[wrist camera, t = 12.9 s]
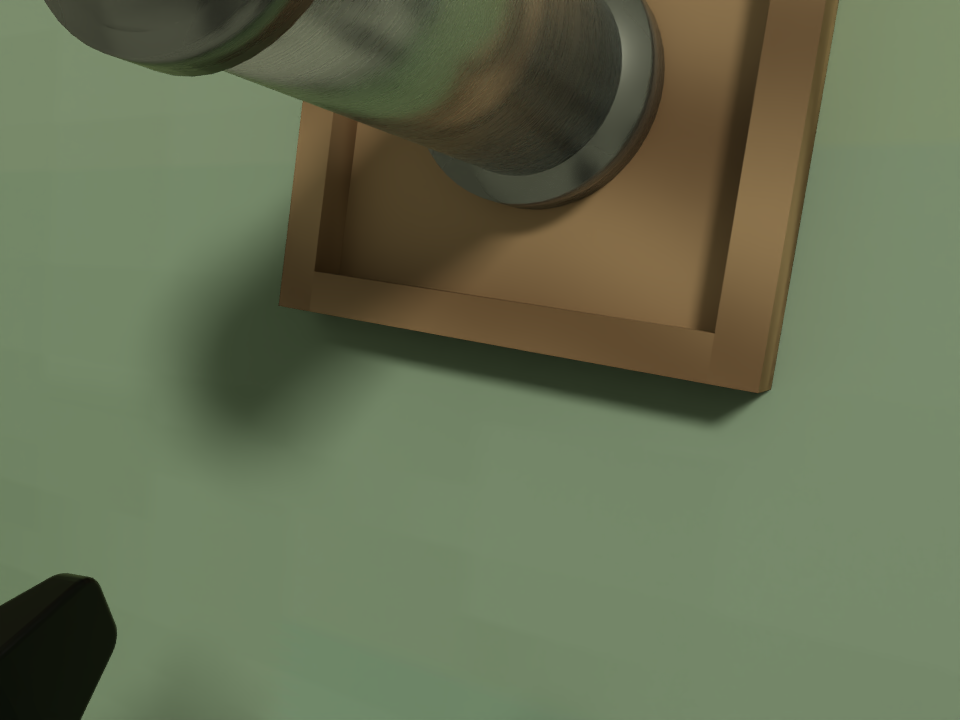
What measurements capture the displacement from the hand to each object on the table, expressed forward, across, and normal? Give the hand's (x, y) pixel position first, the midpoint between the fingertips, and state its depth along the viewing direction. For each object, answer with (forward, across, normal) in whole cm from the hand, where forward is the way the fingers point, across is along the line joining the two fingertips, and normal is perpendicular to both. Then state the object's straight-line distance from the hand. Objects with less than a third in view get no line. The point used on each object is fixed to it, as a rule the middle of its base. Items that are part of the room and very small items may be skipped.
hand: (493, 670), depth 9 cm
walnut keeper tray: (+15, +2, -2) cm, 15 cm away
